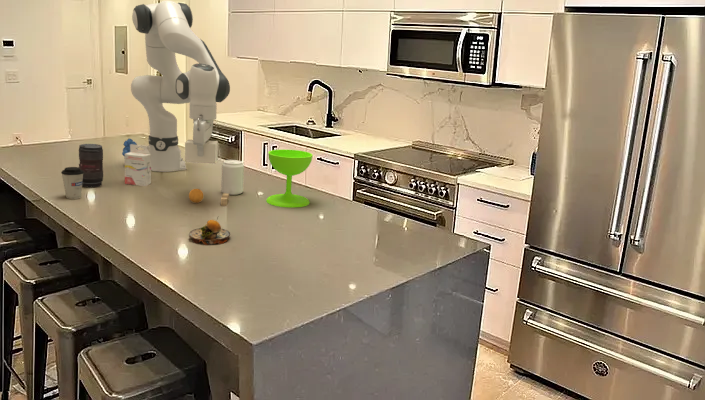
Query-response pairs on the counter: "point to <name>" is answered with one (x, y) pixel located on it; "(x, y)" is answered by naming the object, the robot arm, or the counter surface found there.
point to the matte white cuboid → (209, 150)
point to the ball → (196, 195)
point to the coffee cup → (72, 182)
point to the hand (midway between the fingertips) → (202, 153)
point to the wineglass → (289, 175)
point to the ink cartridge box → (138, 166)
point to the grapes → (127, 146)
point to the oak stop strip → (224, 199)
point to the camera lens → (91, 164)
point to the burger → (210, 234)
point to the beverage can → (232, 177)
